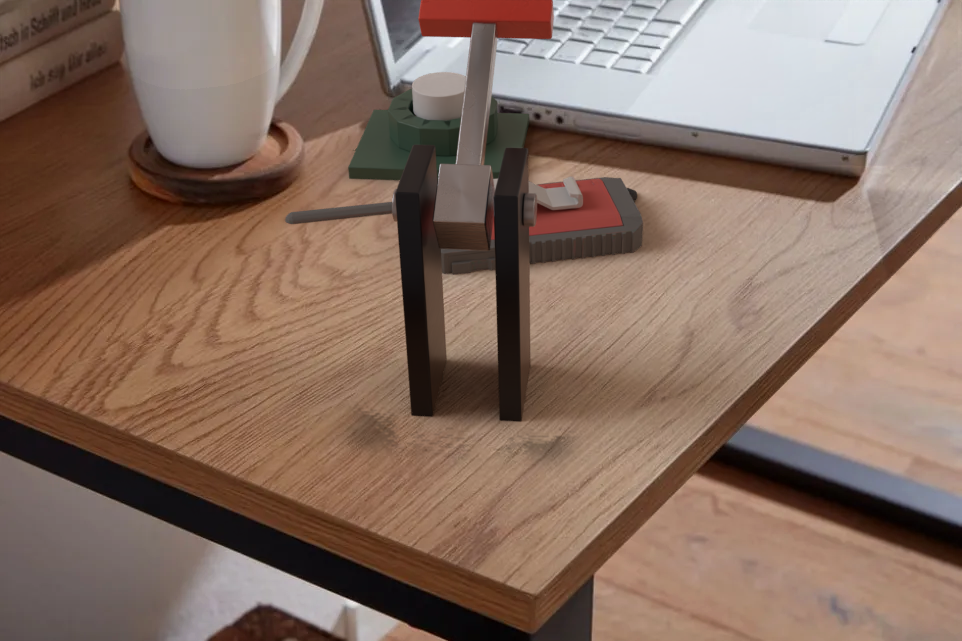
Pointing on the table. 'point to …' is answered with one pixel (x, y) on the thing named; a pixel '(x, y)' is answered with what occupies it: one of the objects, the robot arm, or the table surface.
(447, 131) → the switch box
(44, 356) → the table surface
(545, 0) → the lever
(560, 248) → the walkie-talkie
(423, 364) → the bracket
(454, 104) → the button
